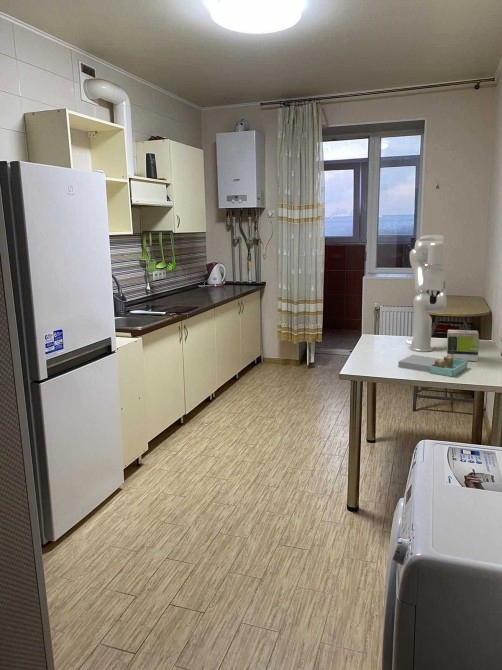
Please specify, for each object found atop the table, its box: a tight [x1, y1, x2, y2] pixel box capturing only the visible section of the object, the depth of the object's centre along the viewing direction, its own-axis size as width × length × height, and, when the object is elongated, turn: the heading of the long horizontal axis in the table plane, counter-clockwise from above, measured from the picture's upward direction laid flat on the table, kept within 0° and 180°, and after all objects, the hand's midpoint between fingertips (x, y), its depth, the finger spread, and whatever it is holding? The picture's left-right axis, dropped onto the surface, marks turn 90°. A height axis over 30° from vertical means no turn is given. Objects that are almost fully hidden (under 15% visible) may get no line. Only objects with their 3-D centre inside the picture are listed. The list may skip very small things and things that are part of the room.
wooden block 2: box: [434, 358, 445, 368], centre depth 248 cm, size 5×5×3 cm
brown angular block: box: [443, 355, 453, 368], centre depth 254 cm, size 5×5×3 cm
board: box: [398, 354, 444, 373], centre depth 259 cm, size 16×17×3 cm
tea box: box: [446, 329, 480, 362], centre depth 271 cm, size 15×10×15 cm
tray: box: [429, 359, 469, 378], centre depth 250 cm, size 11×20×4 cm, turn 140°
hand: (432, 303), depth 261 cm, fingers closed
